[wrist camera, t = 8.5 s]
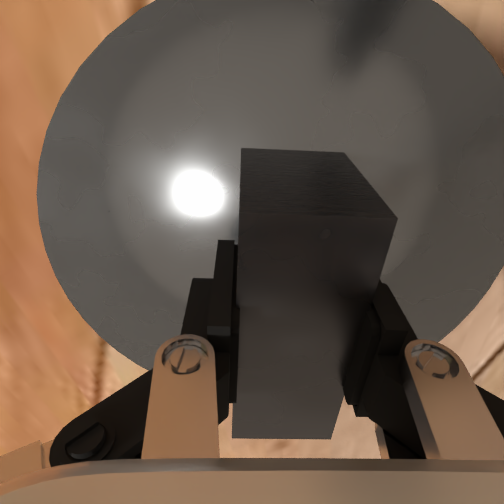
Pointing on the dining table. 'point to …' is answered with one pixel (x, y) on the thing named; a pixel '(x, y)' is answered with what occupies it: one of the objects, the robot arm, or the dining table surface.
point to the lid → (278, 184)
